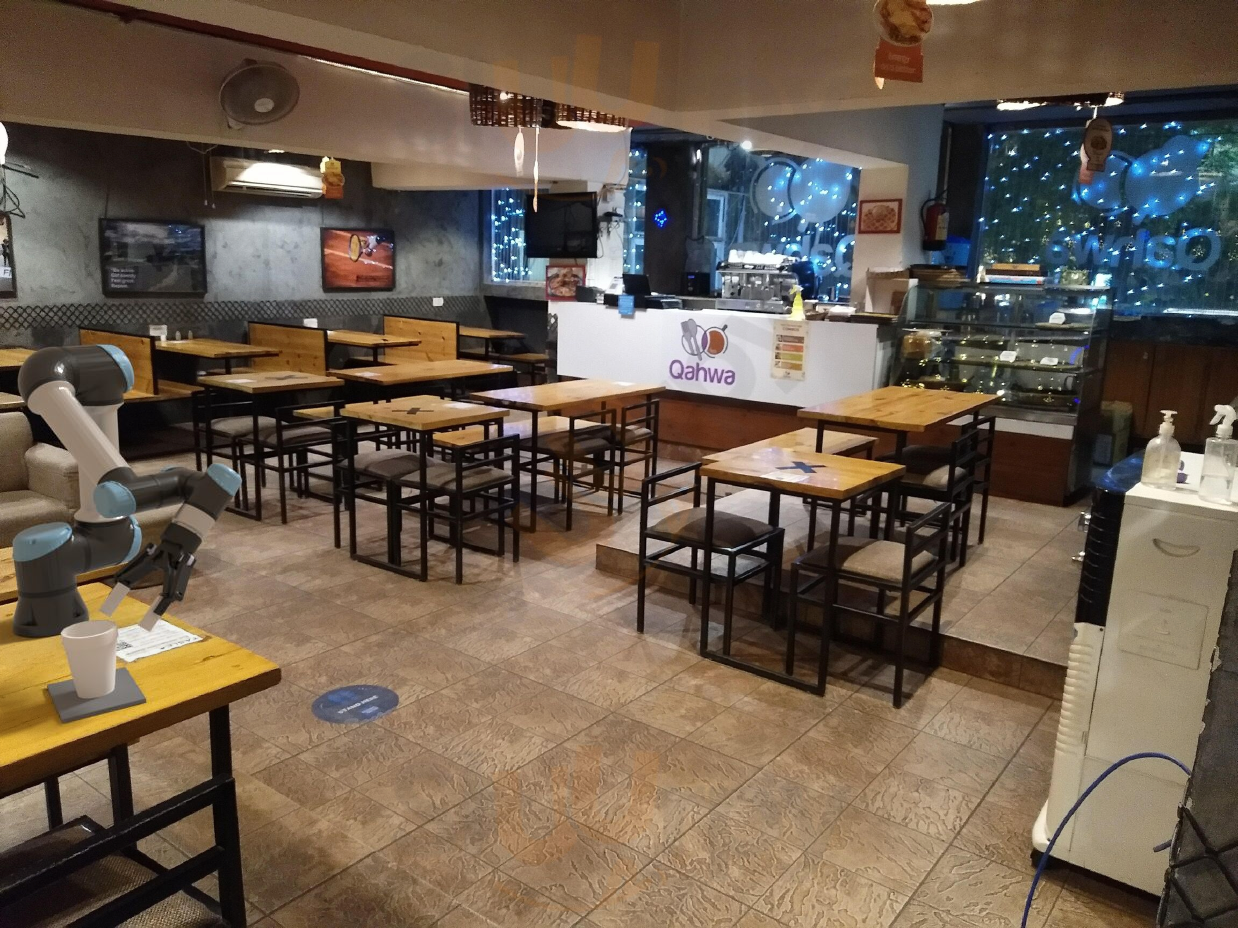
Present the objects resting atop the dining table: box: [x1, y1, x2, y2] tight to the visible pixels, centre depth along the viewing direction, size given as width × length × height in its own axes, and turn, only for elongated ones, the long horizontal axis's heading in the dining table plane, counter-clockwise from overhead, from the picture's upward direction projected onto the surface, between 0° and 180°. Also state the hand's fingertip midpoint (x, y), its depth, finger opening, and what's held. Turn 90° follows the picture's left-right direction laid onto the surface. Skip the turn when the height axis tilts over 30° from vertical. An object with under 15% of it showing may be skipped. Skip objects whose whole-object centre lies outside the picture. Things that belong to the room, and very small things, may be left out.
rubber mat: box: [46, 666, 147, 724], centre depth 177 cm, size 18×14×1 cm
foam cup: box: [60, 619, 119, 698], centre depth 176 cm, size 10×9×13 cm
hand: (123, 621), depth 179 cm, fingers open, 13 cm apart
